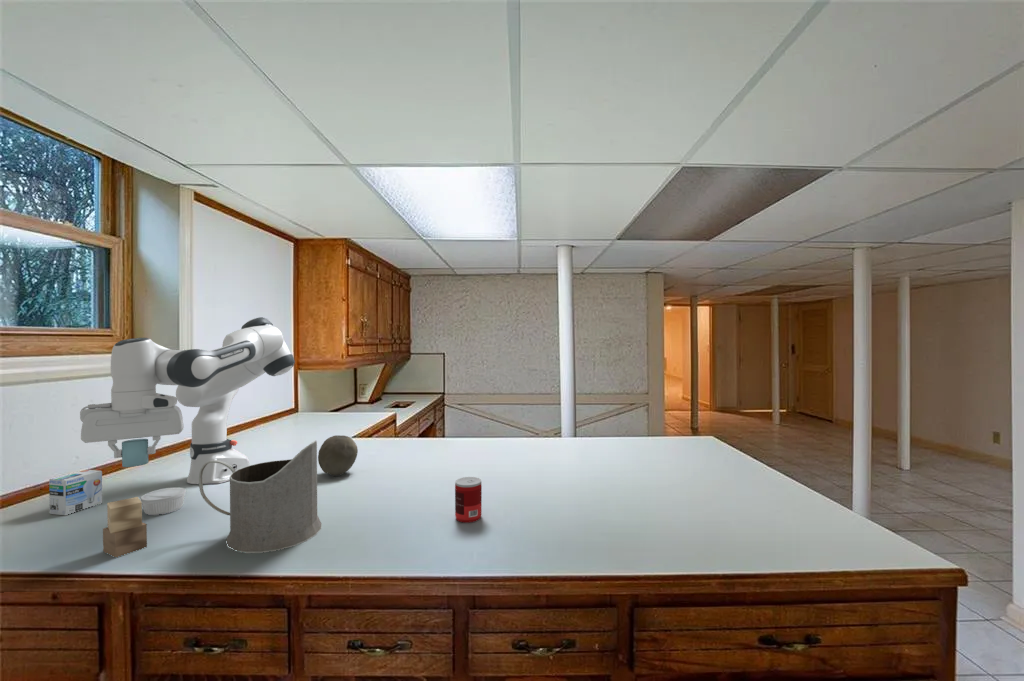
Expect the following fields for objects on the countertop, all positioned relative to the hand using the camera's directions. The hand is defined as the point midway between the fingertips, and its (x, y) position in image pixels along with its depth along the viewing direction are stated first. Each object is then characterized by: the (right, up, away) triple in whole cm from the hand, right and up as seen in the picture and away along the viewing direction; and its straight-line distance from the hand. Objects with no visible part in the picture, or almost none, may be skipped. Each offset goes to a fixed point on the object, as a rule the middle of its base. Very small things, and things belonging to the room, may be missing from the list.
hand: (135, 455), depth 118 cm
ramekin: (-12, -24, +25) cm, 36 cm away
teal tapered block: (0, -2, 0) cm, 2 cm away
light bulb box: (-40, -23, +26) cm, 53 cm away
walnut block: (-2, -24, -1) cm, 24 cm away
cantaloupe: (+29, -23, +61) cm, 71 cm away
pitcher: (+27, -24, +8) cm, 37 cm away
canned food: (+83, -23, +19) cm, 89 cm away
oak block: (-2, -18, -1) cm, 18 cm away
